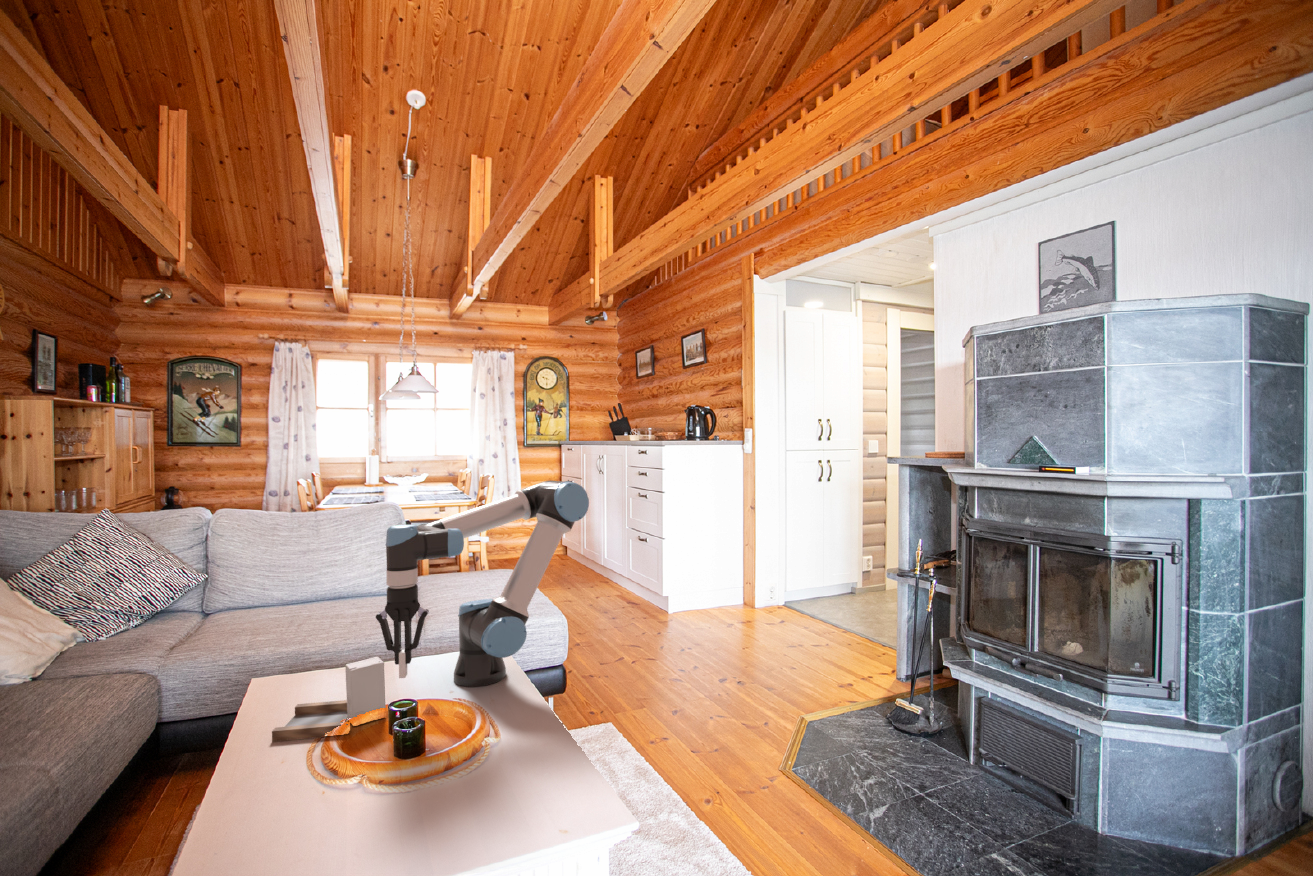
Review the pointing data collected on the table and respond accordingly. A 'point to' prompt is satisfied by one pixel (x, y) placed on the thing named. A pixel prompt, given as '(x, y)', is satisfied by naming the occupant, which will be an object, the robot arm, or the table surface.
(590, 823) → the table surface
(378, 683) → the skincare box
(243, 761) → the table surface
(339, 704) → the u rest
